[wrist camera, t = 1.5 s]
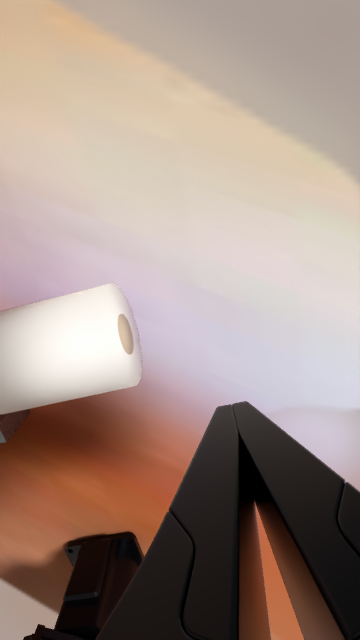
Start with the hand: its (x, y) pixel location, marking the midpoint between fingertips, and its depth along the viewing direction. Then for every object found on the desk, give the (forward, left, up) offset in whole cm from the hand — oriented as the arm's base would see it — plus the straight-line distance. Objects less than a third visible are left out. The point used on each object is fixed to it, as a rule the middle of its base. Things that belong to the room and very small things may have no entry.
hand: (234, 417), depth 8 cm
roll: (0, +9, -12) cm, 15 cm away
